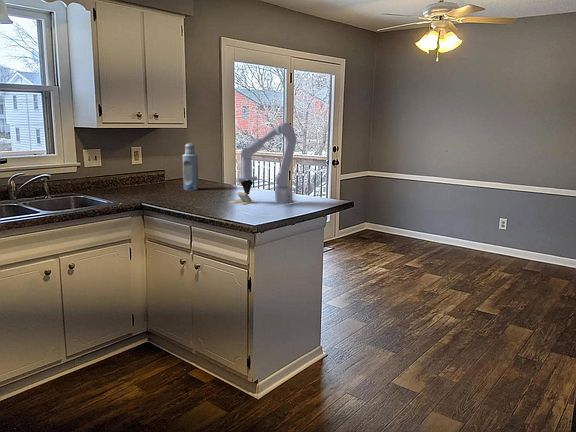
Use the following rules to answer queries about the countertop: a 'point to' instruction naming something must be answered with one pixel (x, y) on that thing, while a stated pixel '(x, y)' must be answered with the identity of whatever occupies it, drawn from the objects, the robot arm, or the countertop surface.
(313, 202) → the countertop surface
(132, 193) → the countertop surface
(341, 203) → the countertop surface
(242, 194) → the tile
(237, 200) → the board
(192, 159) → the bottle
